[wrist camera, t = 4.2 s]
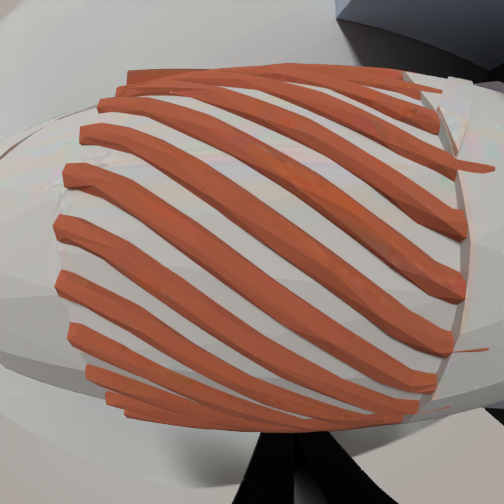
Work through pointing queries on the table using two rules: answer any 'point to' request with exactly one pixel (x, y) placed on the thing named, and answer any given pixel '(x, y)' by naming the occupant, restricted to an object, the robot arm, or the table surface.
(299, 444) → the robot arm
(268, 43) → the table surface
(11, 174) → the cable
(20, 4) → the table surface
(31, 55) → the table surface
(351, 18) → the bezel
